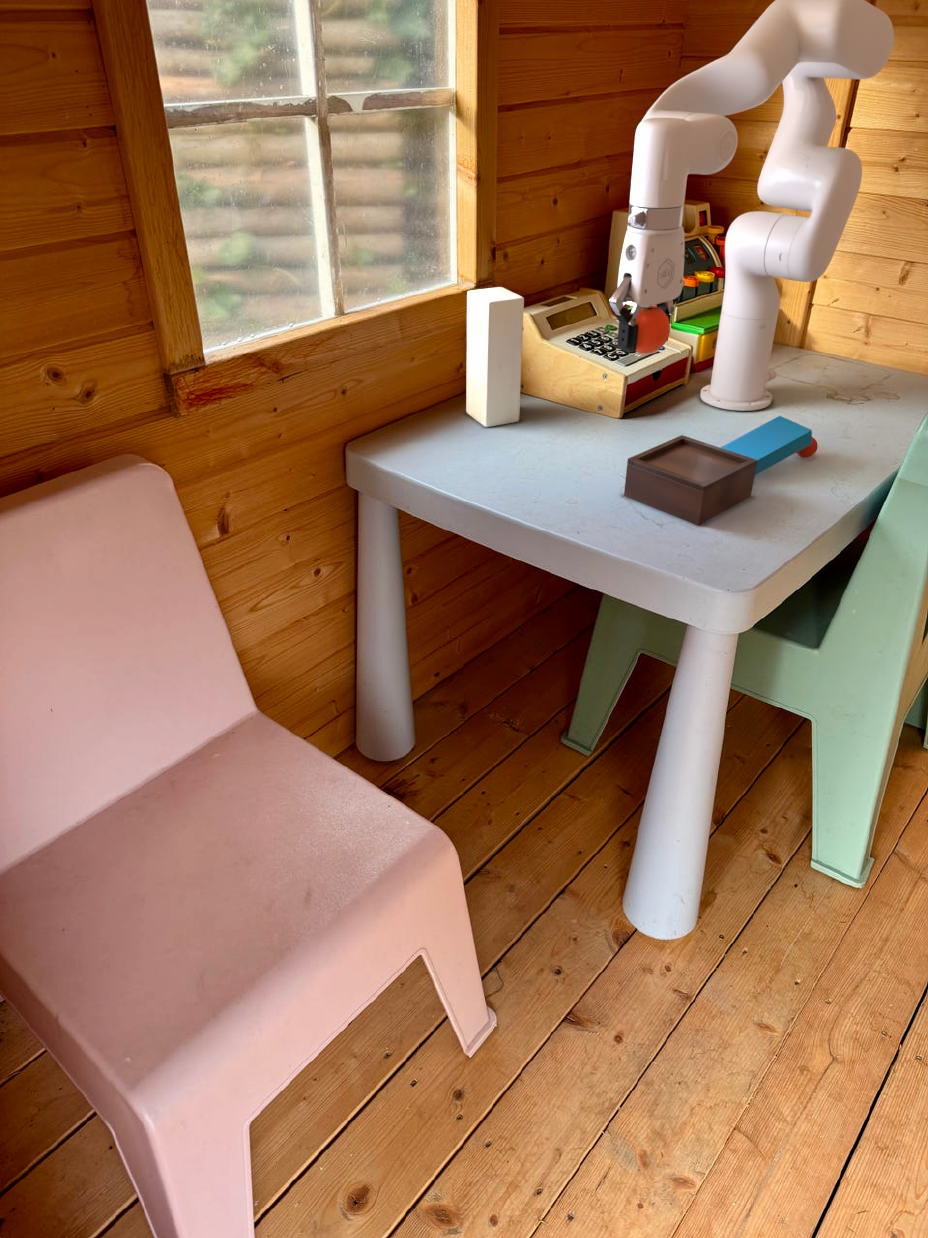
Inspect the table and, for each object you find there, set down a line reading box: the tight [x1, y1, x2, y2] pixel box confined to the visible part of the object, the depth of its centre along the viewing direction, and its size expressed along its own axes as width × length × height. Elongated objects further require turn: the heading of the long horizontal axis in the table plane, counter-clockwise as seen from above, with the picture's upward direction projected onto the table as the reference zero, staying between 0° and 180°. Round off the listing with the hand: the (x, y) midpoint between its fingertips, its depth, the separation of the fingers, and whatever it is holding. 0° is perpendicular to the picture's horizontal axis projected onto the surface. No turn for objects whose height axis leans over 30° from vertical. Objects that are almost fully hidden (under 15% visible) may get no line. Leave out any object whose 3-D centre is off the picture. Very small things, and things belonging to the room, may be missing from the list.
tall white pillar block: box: [465, 286, 525, 428], centre depth 153 cm, size 8×7×21 cm
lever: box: [720, 415, 819, 476], centre depth 140 cm, size 7×7×18 cm
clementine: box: [628, 305, 671, 355], centre depth 136 cm, size 8×7×7 cm
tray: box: [623, 434, 758, 526], centre depth 131 cm, size 13×13×6 cm
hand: (642, 343), depth 137 cm, fingers closed on clementine, 7 cm apart
